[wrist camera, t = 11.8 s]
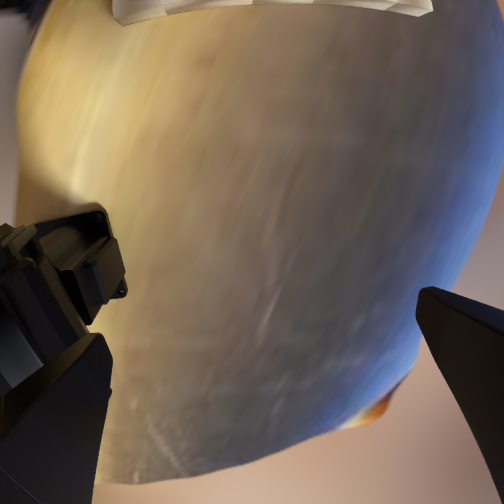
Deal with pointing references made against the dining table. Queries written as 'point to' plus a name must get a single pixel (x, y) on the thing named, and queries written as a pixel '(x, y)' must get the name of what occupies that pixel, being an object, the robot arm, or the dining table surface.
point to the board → (166, 3)
